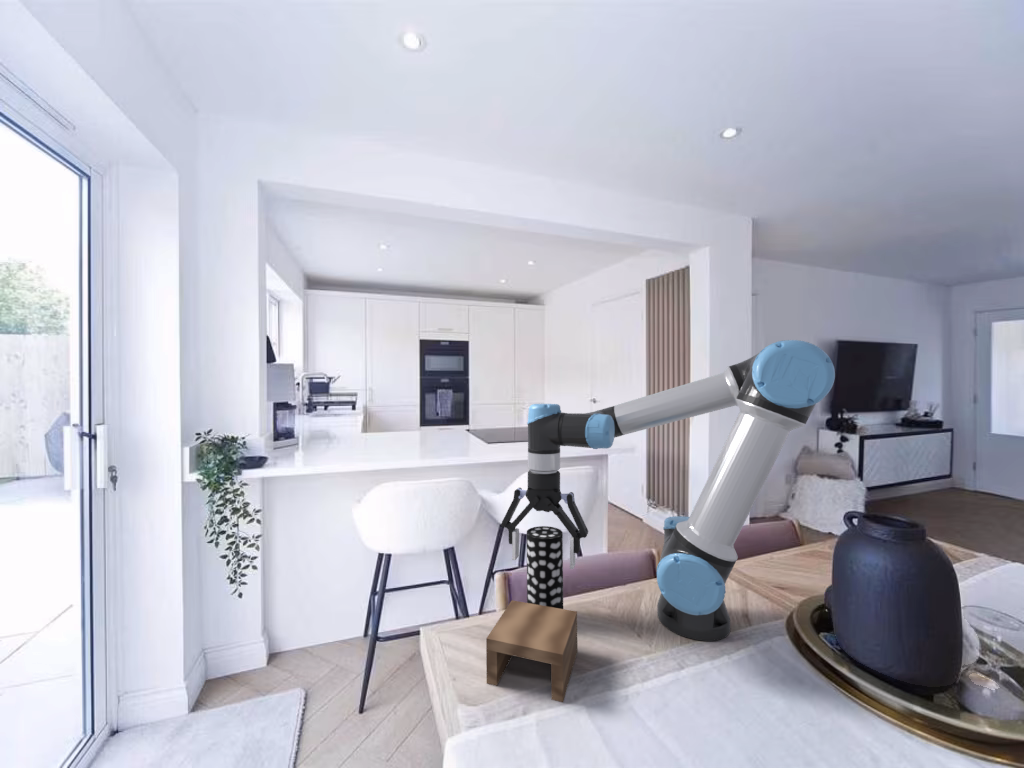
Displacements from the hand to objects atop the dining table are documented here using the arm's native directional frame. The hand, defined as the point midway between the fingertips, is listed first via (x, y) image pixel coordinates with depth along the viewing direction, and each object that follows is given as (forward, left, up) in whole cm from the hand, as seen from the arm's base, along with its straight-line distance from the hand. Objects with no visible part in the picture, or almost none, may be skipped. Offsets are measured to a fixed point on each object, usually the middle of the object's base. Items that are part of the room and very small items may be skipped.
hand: (543, 562), depth 93 cm
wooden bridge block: (-2, +16, -13) cm, 21 cm away
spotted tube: (0, 0, -13) cm, 13 cm away
